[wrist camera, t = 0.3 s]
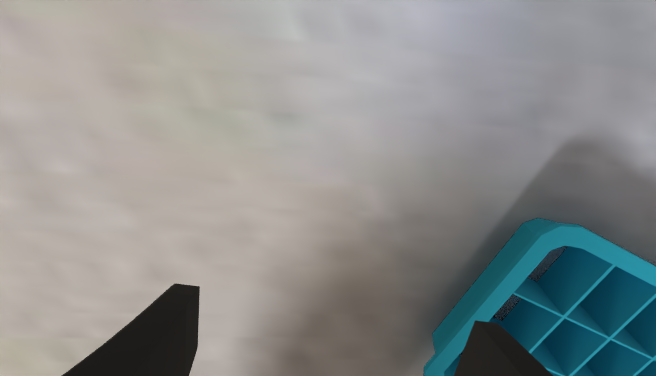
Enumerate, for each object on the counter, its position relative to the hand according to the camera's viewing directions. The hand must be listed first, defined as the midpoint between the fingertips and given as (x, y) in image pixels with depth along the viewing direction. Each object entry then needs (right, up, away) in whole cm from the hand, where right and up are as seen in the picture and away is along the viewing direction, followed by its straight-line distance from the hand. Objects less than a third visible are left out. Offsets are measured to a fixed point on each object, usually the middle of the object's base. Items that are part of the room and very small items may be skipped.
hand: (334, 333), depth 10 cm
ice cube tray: (+16, -5, +14) cm, 22 cm away
